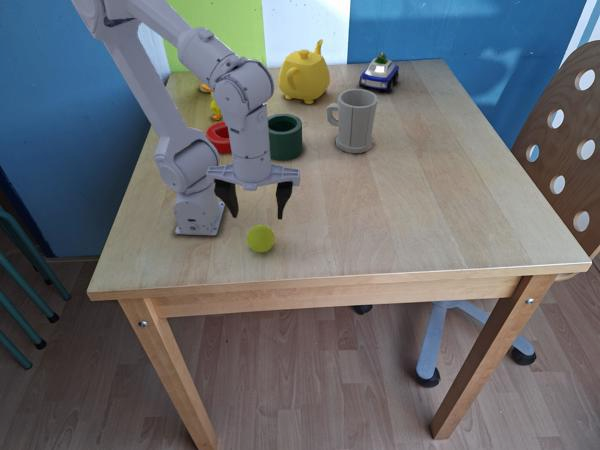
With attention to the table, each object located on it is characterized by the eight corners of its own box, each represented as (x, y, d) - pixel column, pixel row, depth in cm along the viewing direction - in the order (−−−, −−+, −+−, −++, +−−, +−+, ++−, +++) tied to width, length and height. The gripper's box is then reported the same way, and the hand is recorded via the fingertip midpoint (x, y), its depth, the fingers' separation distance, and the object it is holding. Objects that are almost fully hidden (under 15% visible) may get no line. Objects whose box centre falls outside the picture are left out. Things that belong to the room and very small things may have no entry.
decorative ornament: (206, 134, 106) (204, 123, 104) (245, 129, 107) (243, 118, 105) (208, 155, 99) (206, 144, 97) (249, 150, 101) (247, 139, 98)
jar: (301, 161, 97) (300, 134, 93) (262, 160, 98) (259, 133, 93) (303, 139, 104) (303, 114, 99) (266, 138, 104) (264, 113, 99)
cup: (336, 158, 98) (338, 111, 90) (324, 137, 104) (325, 92, 96) (378, 150, 100) (384, 104, 92) (363, 131, 106) (368, 85, 98)
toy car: (356, 90, 122) (358, 57, 115) (370, 73, 130) (373, 42, 123) (387, 97, 119) (391, 63, 112) (399, 79, 126) (404, 47, 120)
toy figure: (202, 117, 112) (194, 73, 104) (211, 111, 114) (204, 68, 106) (222, 124, 110) (215, 79, 101) (231, 118, 112) (224, 74, 103)
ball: (273, 258, 76) (272, 239, 73) (246, 257, 76) (243, 238, 73) (276, 238, 80) (275, 219, 76) (250, 237, 80) (247, 218, 76)
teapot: (341, 83, 125) (343, 41, 116) (311, 114, 112) (311, 69, 104) (300, 75, 130) (300, 33, 121) (267, 104, 117) (264, 59, 108)
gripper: (195, 162, 60) (211, 229, 70) (297, 164, 59) (298, 232, 69) (206, 135, 65) (219, 201, 75) (300, 137, 65) (301, 204, 74)
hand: (258, 214), depth 72 cm, fingers open, 7 cm apart
